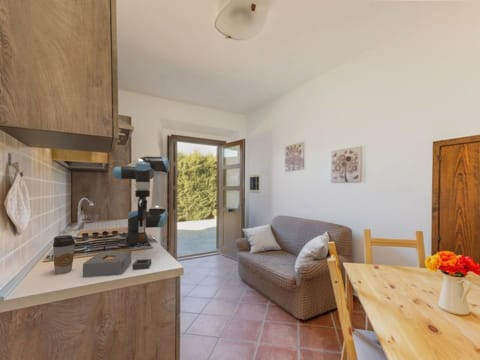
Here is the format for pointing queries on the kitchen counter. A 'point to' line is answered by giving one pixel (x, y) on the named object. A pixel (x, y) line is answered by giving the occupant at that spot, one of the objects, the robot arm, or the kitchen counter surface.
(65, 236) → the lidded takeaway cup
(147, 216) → the robot arm
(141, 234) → the stylus
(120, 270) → the box
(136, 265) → the socket
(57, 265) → the coffee cup
